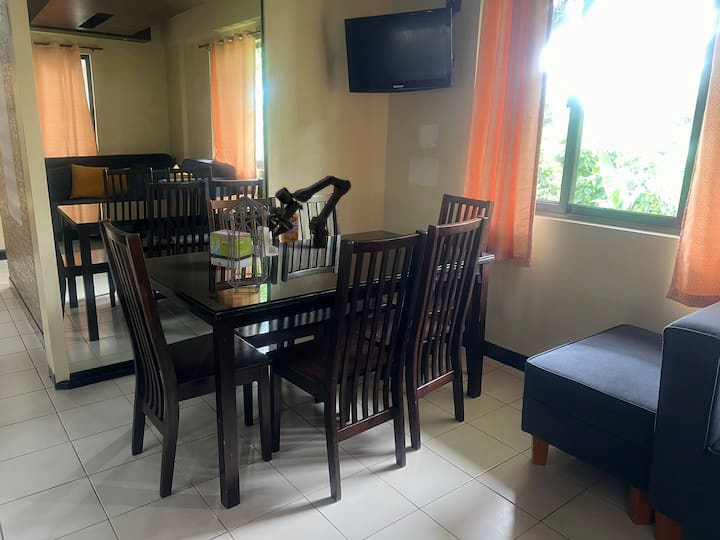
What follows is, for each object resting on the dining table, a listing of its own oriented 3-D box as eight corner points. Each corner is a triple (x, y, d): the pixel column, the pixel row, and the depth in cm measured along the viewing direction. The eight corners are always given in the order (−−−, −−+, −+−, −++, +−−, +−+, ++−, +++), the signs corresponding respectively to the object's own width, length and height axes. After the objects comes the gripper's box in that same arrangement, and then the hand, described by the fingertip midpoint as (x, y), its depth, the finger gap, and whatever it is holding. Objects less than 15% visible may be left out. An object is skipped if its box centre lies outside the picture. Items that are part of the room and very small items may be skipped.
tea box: (210, 265, 230) (208, 232, 227) (226, 260, 239) (224, 228, 235) (237, 270, 224) (235, 235, 220) (252, 265, 232) (251, 232, 229)
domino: (257, 250, 256) (257, 226, 253) (263, 250, 258) (263, 225, 255) (263, 253, 251) (262, 228, 248) (269, 252, 253) (269, 227, 250)
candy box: (282, 242, 283) (282, 214, 279) (281, 240, 287) (280, 212, 283) (298, 241, 286) (298, 213, 282) (297, 240, 290) (296, 212, 286)
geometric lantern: (271, 285, 202) (270, 194, 194) (265, 297, 187) (263, 199, 178) (230, 284, 202) (226, 193, 193) (221, 297, 187) (217, 198, 178)
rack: (249, 252, 257) (249, 245, 257) (266, 250, 263) (266, 243, 262) (260, 257, 247) (260, 250, 246) (278, 255, 252) (278, 248, 251)
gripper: (269, 197, 261) (249, 221, 257) (287, 202, 246) (266, 227, 242) (284, 212, 267) (265, 236, 264) (302, 217, 252) (282, 242, 249)
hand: (269, 235), depth 254 cm, fingers open, 9 cm apart
